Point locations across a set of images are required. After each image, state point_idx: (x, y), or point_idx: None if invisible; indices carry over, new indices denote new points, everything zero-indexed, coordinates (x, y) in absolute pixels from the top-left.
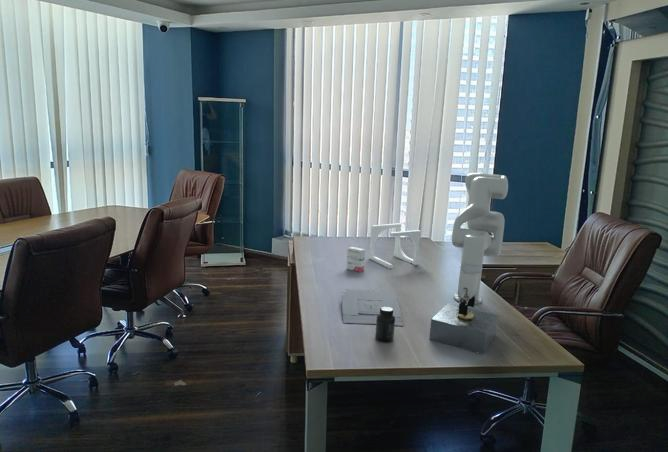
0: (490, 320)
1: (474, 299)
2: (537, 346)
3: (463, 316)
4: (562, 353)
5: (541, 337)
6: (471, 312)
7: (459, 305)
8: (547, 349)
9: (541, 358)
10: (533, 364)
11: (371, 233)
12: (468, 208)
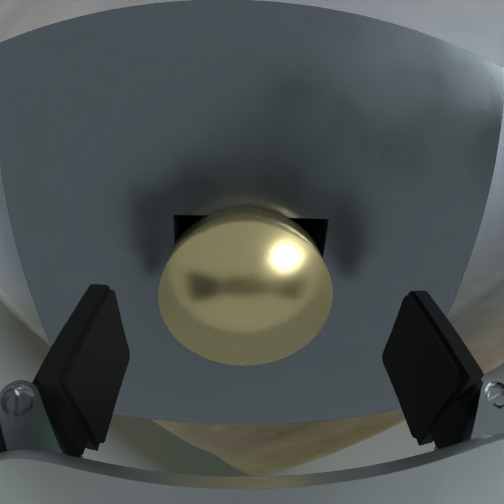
0: (291, 411)
1: (413, 425)
2: (320, 429)
3: (161, 301)
4: (303, 460)
5: (394, 419)
6: (309, 339)
7: (52, 358)
8: (311, 443)
9: (234, 444)
10: (176, 435)
11: None
12: None
